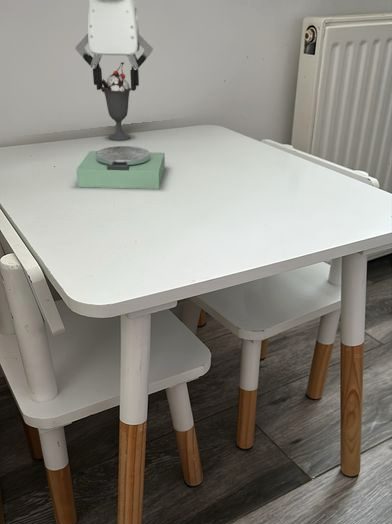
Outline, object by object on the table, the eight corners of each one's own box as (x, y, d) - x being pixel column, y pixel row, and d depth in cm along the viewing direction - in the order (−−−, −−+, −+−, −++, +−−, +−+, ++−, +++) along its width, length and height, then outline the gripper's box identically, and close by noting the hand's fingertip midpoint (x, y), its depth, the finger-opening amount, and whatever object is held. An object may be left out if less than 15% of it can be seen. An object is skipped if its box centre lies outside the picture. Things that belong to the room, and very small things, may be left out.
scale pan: (91, 164, 96) (90, 159, 95) (101, 149, 104) (100, 145, 103) (147, 166, 96) (146, 161, 95) (152, 151, 103) (152, 146, 103)
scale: (78, 187, 96) (75, 165, 94) (91, 166, 106) (89, 147, 104) (159, 189, 96) (158, 168, 94) (164, 168, 106) (164, 149, 104)
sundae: (137, 134, 127) (134, 61, 119) (129, 142, 122) (126, 65, 113) (109, 133, 128) (105, 60, 120) (100, 140, 123) (94, 64, 114)
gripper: (156, -10, 112) (158, 87, 122) (71, -12, 113) (80, 85, 123) (153, -9, 106) (155, 93, 116) (62, -11, 106) (72, 91, 116)
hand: (116, 88), depth 119 cm, fingers closed on sundae, 6 cm apart
